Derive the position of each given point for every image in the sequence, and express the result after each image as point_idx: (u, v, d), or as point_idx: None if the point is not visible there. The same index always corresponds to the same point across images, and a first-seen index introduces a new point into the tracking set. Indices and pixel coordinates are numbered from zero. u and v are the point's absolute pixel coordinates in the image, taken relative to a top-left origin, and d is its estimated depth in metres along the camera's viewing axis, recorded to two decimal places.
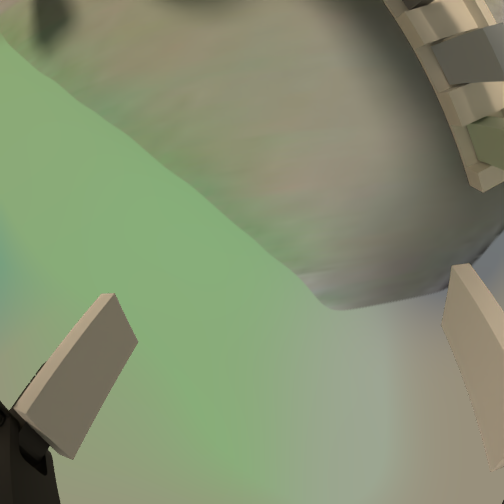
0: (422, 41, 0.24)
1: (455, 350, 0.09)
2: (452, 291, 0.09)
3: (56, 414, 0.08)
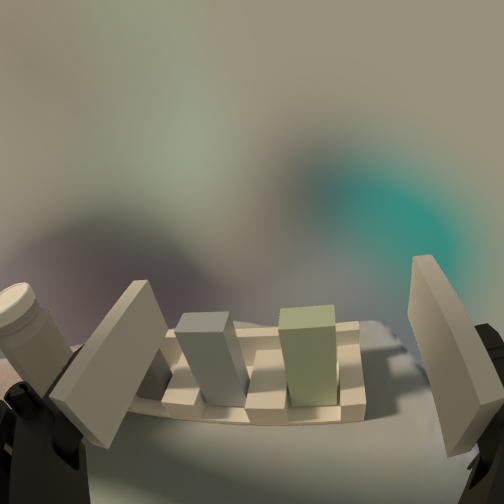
0: (190, 405, 0.32)
1: (418, 338, 0.10)
2: (414, 281, 0.10)
3: (94, 401, 0.08)
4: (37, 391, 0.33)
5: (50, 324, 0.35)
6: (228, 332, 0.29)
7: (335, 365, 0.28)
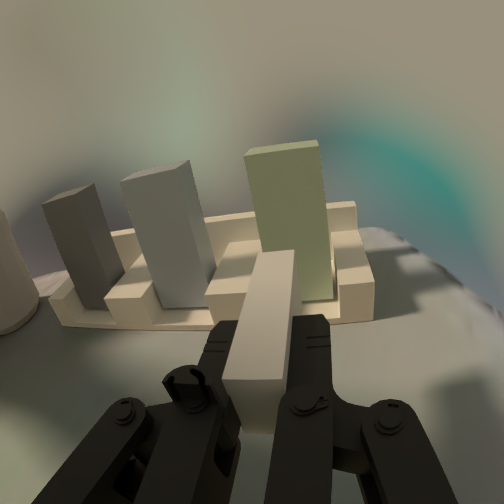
0: (137, 298, 0.25)
1: None
2: None
3: None
4: None
5: (2, 222, 0.28)
6: (184, 179, 0.23)
7: (326, 219, 0.22)
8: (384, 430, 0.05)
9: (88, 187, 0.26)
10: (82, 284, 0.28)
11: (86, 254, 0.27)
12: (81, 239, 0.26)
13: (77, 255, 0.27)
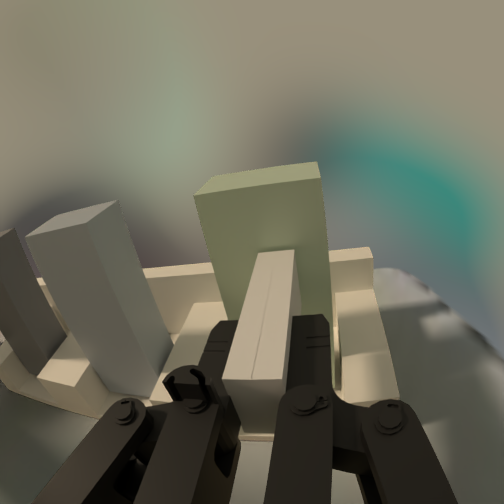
0: (71, 386, 0.16)
1: None
2: None
3: None
4: None
5: None
6: (106, 234, 0.14)
7: (329, 293, 0.14)
8: (383, 431, 0.05)
9: (6, 234, 0.17)
10: (19, 349, 0.19)
11: (13, 319, 0.18)
12: (5, 302, 0.17)
13: (6, 318, 0.18)
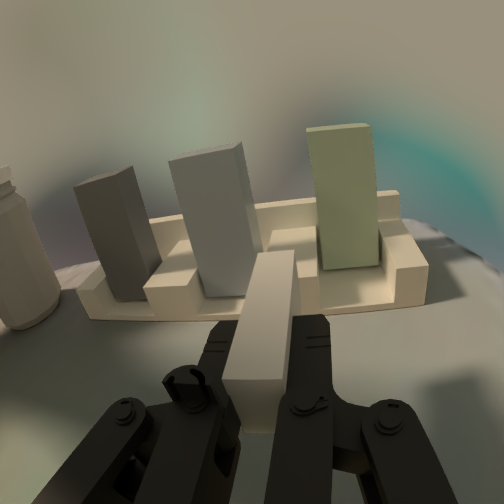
0: (182, 286, 0.25)
1: None
2: None
3: None
4: None
5: (23, 209, 0.28)
6: (239, 160, 0.22)
7: (375, 190, 0.23)
8: (383, 430, 0.05)
9: (127, 169, 0.25)
10: (115, 273, 0.28)
11: (123, 240, 0.26)
12: (119, 224, 0.25)
13: (112, 242, 0.26)
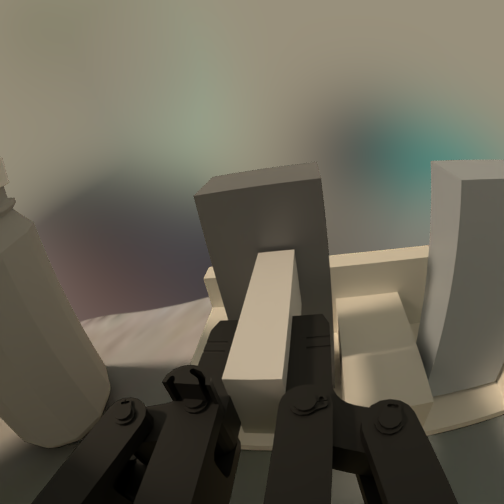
0: (426, 403, 0.11)
1: None
2: None
3: None
4: (0, 407, 0.12)
5: (33, 245, 0.14)
6: None
7: None
8: (383, 430, 0.05)
9: None
10: None
11: (304, 306, 0.14)
12: (303, 278, 0.13)
13: None
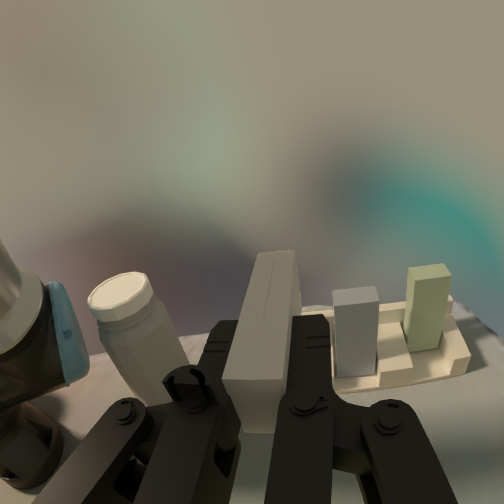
0: None
1: None
2: None
3: None
4: (147, 389, 0.36)
5: (168, 315, 0.39)
6: None
7: (445, 309, 0.34)
8: (384, 431, 0.05)
9: None
10: None
11: None
12: None
13: None
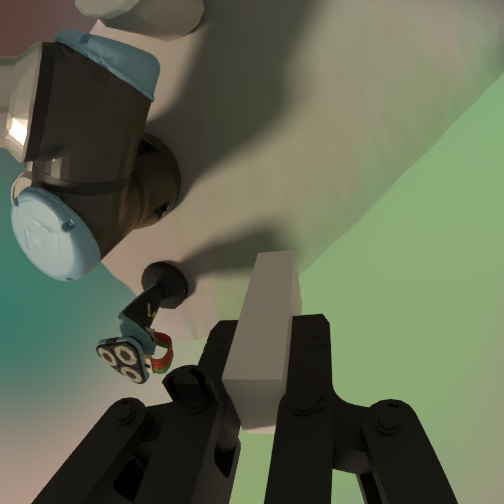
0: None
1: None
2: None
3: None
4: (182, 23, 0.31)
5: None
6: None
7: None
8: (384, 430, 0.05)
9: None
10: None
11: None
12: None
13: None
